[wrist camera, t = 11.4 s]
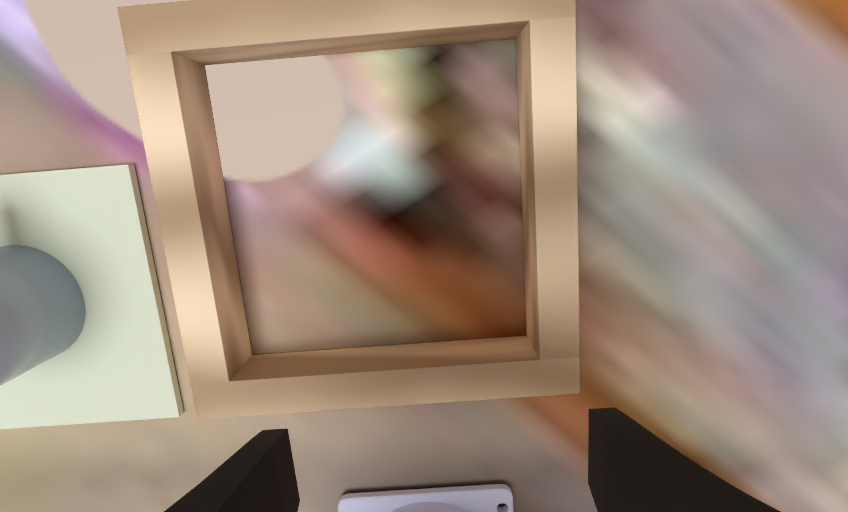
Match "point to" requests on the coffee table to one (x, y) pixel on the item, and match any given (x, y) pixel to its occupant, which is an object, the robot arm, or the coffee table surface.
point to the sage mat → (92, 300)
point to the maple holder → (211, 229)
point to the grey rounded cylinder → (35, 309)
